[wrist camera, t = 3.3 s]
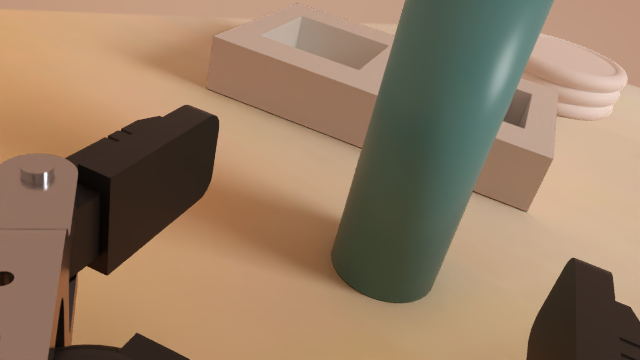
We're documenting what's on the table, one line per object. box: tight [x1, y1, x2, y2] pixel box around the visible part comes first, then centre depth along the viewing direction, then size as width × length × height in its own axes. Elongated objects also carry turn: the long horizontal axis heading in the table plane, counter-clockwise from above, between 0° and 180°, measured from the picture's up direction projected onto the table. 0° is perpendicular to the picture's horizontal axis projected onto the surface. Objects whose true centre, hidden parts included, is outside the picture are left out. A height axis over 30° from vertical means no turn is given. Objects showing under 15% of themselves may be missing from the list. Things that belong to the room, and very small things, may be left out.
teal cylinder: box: [331, 0, 554, 303], centre depth 19 cm, size 4×4×11 cm
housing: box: [207, 3, 558, 211], centre depth 34 cm, size 18×11×3 cm, turn 68°
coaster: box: [521, 33, 628, 121], centre depth 44 cm, size 10×10×4 cm
